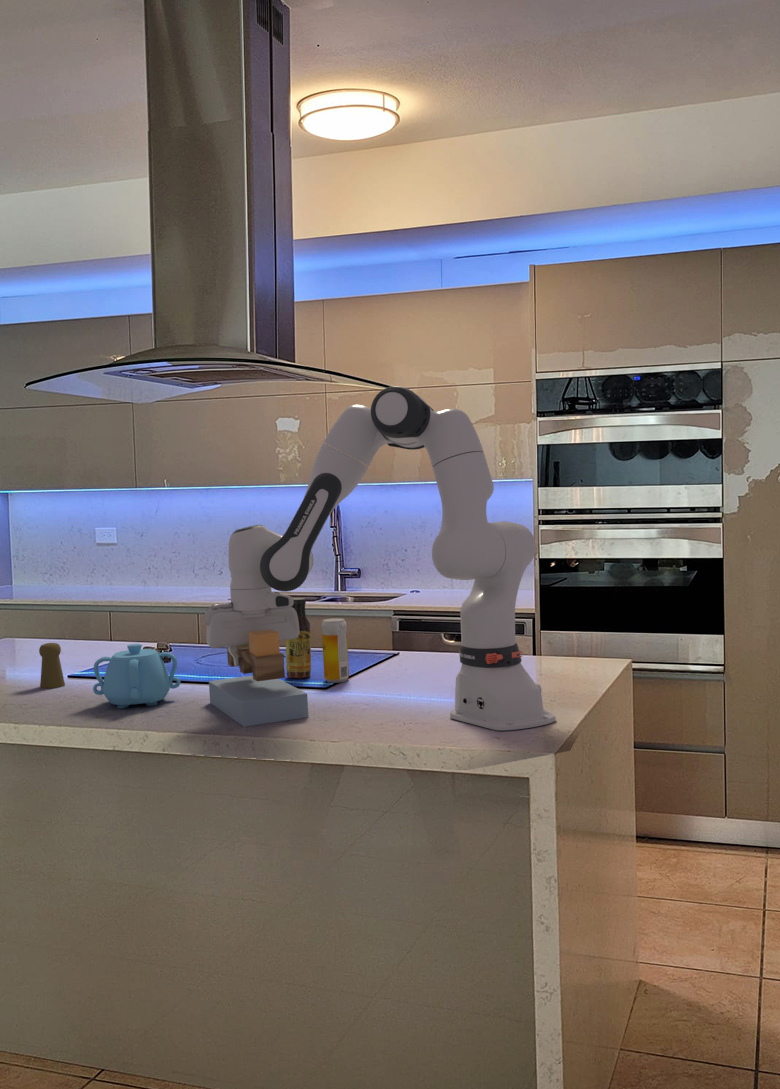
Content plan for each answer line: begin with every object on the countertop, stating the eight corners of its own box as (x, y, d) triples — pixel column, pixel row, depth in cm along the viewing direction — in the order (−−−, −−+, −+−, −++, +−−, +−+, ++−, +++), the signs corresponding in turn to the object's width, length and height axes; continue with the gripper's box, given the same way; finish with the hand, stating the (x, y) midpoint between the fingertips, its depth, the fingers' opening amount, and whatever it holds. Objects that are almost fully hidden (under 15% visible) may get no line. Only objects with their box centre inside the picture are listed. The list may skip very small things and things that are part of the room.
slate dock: (308, 717, 212) (307, 693, 212) (243, 726, 207) (242, 702, 206) (269, 694, 236) (267, 673, 236) (210, 702, 230) (208, 681, 230)
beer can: (336, 677, 253) (333, 617, 252) (354, 679, 249) (351, 618, 248) (319, 681, 248) (316, 620, 247) (337, 684, 244) (334, 622, 243)
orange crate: (279, 653, 212) (278, 632, 212) (256, 656, 210) (255, 635, 210) (272, 650, 217) (271, 629, 217) (249, 653, 215) (248, 631, 215)
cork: (57, 688, 254) (54, 645, 253) (35, 688, 255) (32, 645, 255) (69, 683, 260) (66, 641, 259) (48, 683, 261) (45, 641, 260)
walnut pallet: (284, 677, 212) (283, 654, 212) (257, 681, 210) (255, 657, 209) (253, 661, 232) (252, 639, 232) (227, 664, 230) (226, 642, 229)
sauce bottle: (289, 680, 251) (284, 600, 250) (284, 676, 257) (280, 598, 256) (315, 677, 253) (311, 598, 251) (309, 673, 259) (305, 596, 257)
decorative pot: (188, 700, 235) (185, 641, 234) (130, 714, 223) (126, 652, 222) (145, 692, 245) (142, 636, 245) (87, 705, 233) (84, 647, 232)
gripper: (208, 606, 212) (211, 672, 213) (300, 597, 221) (303, 660, 222) (200, 603, 218) (204, 667, 219) (290, 594, 227) (293, 656, 228)
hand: (255, 663), depth 221 cm, fingers closed on walnut pallet, 6 cm apart
